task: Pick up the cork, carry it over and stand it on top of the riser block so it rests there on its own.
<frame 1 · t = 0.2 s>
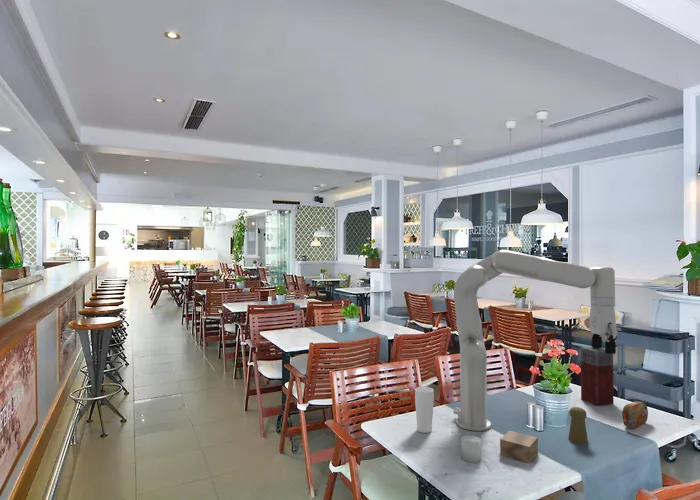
hand: (603, 350, 152), 30 cm above the table, tool pointing down, fingers open, 9 cm apart
drinking glass: (424, 431, 157), on the table
riser: (519, 453, 138), on the table
dark red canister: (594, 401, 190), on the table
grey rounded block: (471, 458, 135), on the table
cork: (578, 440, 149), on the table
tin: (635, 426, 162), on the table
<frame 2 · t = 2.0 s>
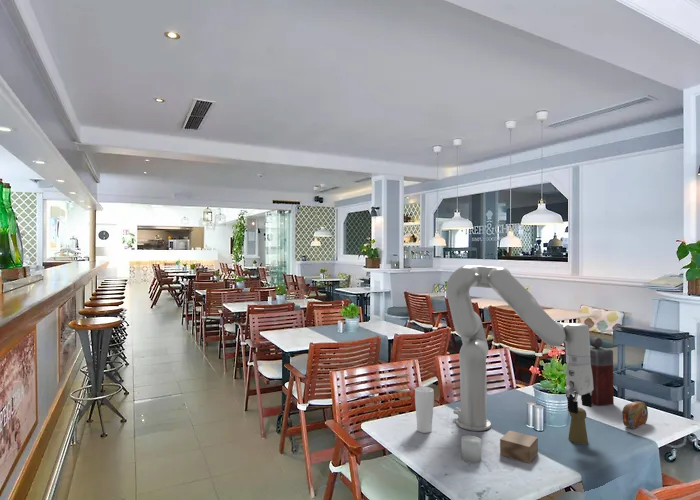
hand: (580, 409, 148), 11 cm above the table, tool pointing down, fingers open, 9 cm apart
nothing on the table moved.
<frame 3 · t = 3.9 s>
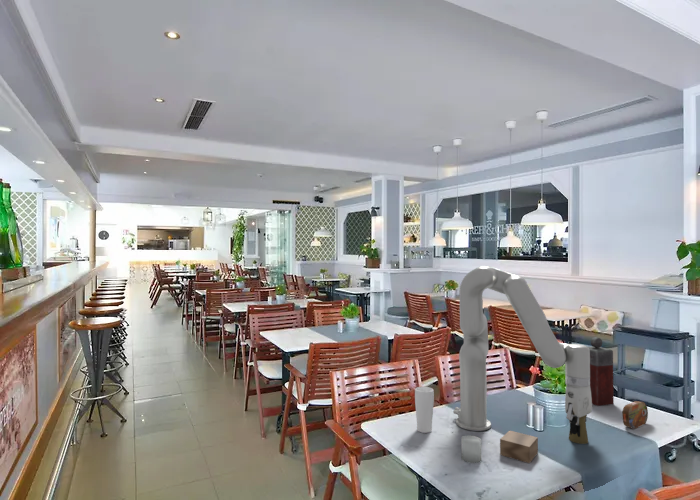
hand: (578, 433, 149), 2 cm above the table, tool pointing down, fingers closed on cork, 3 cm apart
cork: (578, 440, 149), on the table, touching gripper
everything else where it was.
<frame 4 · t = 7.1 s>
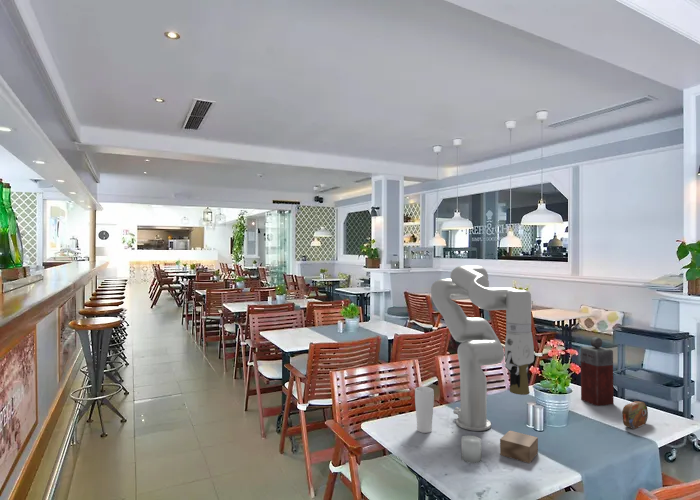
hand: (518, 384, 139), 22 cm above the table, tool pointing down, fingers closed on cork, 3 cm apart
cork: (519, 392, 139), point 20 cm above the table, touching gripper
everything else where it was.
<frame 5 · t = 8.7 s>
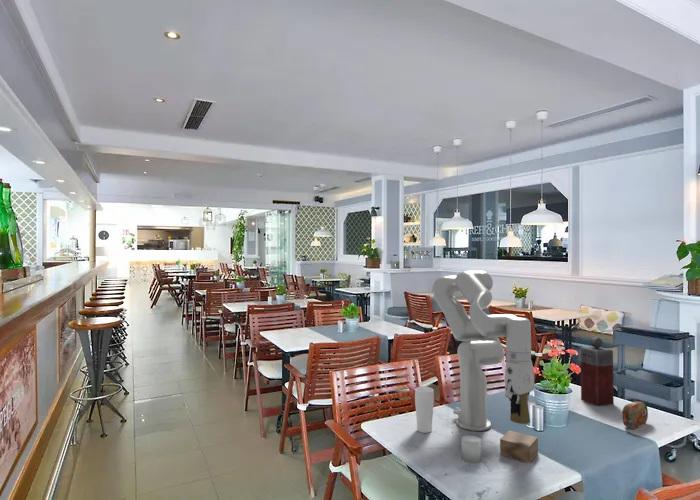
hand: (519, 413, 138), 13 cm above the table, tool pointing down, fingers closed on cork, 3 cm apart
cork: (520, 420, 138), point 11 cm above the table, touching gripper
everything else where it was.
when the fingers open (9 cm above the table, at t = 10.2 s): cork drops 1 cm, resting on riser.
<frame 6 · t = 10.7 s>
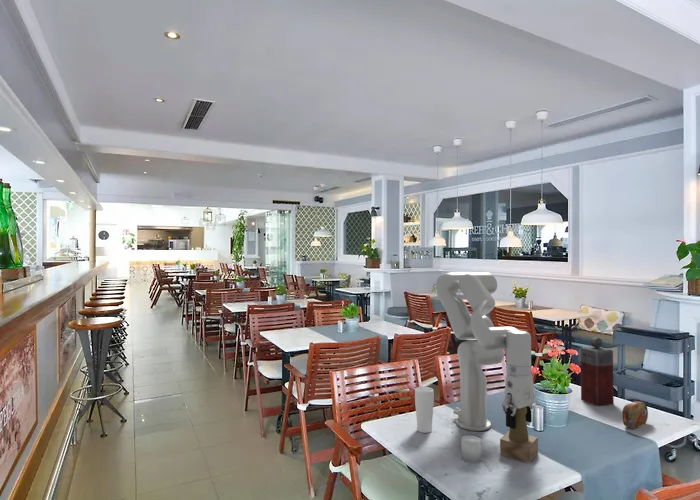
hand: (518, 424, 138), 10 cm above the table, tool pointing down, fingers open, 8 cm apart
cork: (518, 438, 138), point 5 cm above the table, touching riser
everything else where it was.
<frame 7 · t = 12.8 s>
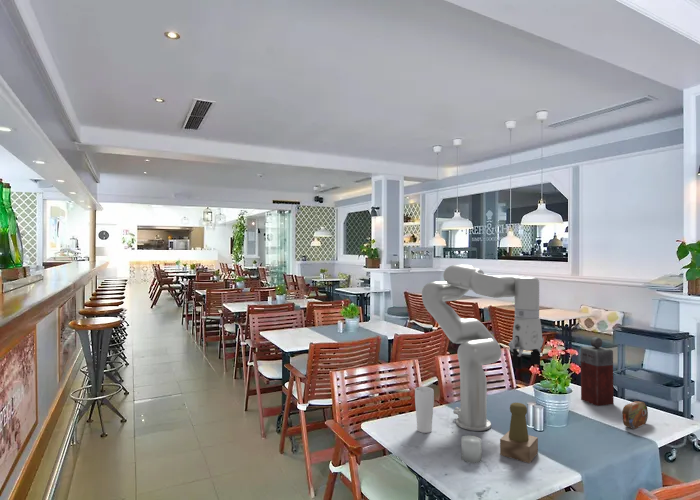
hand: (526, 366, 142), 27 cm above the table, tool pointing down, fingers open, 9 cm apart
nothing on the table moved.
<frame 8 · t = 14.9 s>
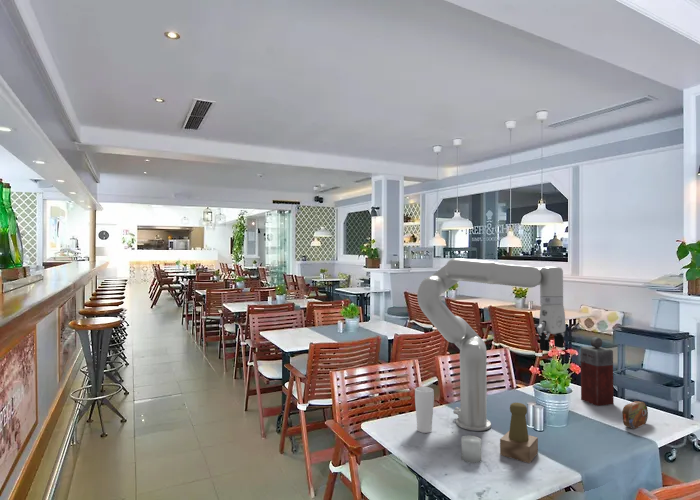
hand: (551, 348, 154), 30 cm above the table, tool pointing down, fingers open, 9 cm apart
nothing on the table moved.
at the end: cork inside the target area on the riser (0.1 cm from its centre), point 4.8 cm above the riser's base; cork tilted 0°; the gripper is holding nothing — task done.
